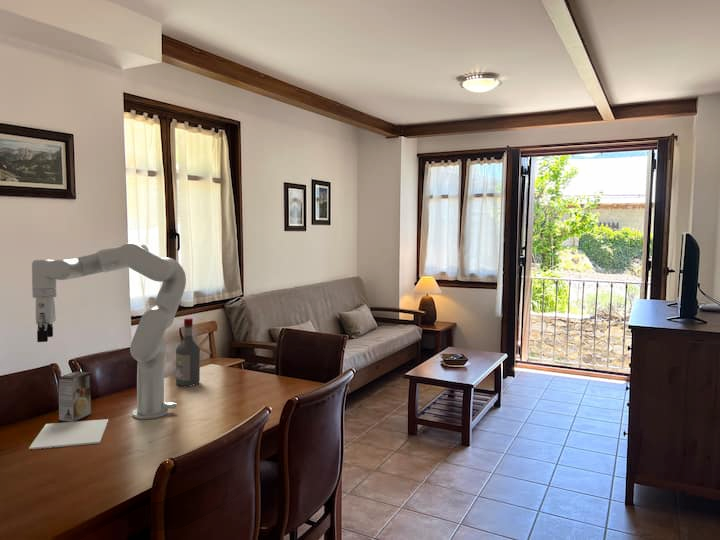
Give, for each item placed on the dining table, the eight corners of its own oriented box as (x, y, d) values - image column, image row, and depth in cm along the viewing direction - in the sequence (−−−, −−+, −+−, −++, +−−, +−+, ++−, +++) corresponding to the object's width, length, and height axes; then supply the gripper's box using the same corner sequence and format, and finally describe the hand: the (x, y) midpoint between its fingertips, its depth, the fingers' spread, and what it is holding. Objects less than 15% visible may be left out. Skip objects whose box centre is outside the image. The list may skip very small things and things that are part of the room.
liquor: (186, 387, 235) (186, 321, 233) (173, 384, 240) (173, 319, 238) (202, 383, 243) (203, 319, 241) (189, 379, 248) (189, 317, 246)
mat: (108, 420, 191) (108, 419, 191) (99, 443, 170) (99, 441, 170) (45, 425, 184) (45, 423, 184) (28, 449, 163) (28, 447, 163)
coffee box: (76, 412, 199) (76, 370, 198) (91, 414, 197) (91, 372, 196) (58, 420, 190) (58, 376, 189) (73, 422, 188) (73, 378, 187)
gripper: (51, 295, 185) (52, 343, 186) (60, 290, 202) (61, 334, 202) (27, 295, 183) (28, 344, 184) (37, 291, 199) (38, 335, 200)
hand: (45, 339), depth 193 cm, fingers open, 9 cm apart
